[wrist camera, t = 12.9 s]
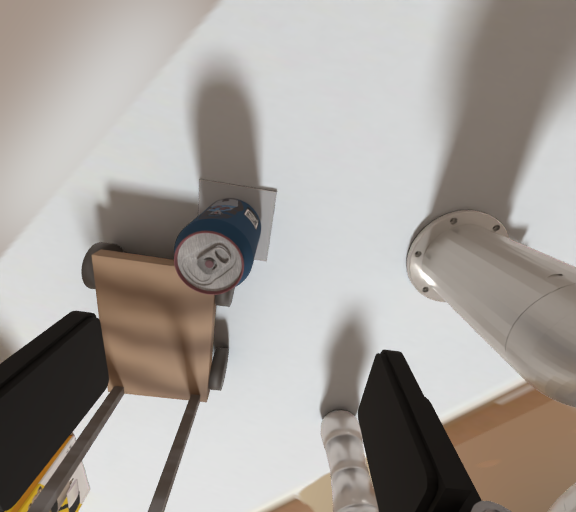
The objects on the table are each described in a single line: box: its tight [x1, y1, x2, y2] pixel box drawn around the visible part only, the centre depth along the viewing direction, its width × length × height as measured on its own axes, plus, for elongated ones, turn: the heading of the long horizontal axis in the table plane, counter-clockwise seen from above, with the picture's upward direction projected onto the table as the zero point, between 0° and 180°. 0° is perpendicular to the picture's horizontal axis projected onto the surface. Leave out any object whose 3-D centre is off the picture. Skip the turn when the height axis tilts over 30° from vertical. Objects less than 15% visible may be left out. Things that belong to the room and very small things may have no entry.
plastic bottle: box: [321, 410, 379, 512], centre depth 38 cm, size 6×7×20 cm
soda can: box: [174, 198, 261, 295], centre depth 28 cm, size 7×7×12 cm
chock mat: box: [198, 179, 277, 261], centre depth 34 cm, size 9×9×1 cm
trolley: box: [27, 242, 235, 512], centre depth 29 cm, size 20×16×21 cm
